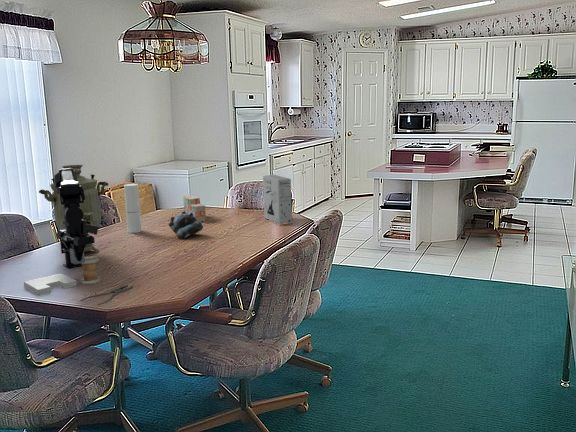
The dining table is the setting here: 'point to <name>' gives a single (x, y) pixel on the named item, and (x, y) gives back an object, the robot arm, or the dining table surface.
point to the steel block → (73, 257)
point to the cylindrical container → (132, 208)
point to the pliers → (111, 293)
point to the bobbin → (90, 270)
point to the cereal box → (277, 198)
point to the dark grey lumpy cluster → (185, 225)
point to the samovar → (88, 207)
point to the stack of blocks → (194, 207)
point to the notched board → (49, 283)
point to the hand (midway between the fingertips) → (77, 259)
